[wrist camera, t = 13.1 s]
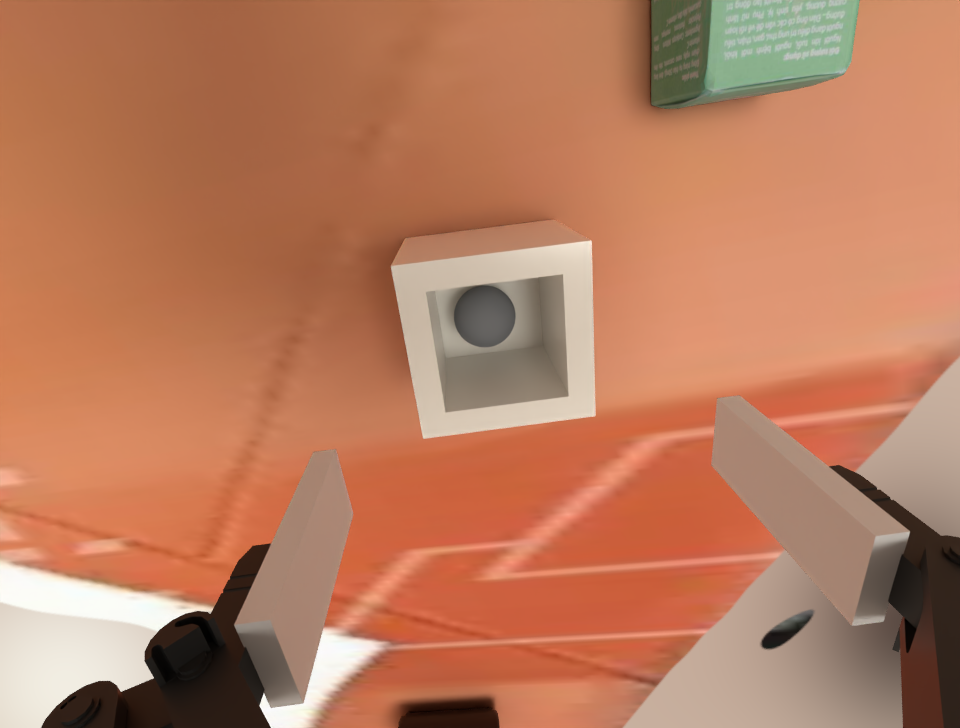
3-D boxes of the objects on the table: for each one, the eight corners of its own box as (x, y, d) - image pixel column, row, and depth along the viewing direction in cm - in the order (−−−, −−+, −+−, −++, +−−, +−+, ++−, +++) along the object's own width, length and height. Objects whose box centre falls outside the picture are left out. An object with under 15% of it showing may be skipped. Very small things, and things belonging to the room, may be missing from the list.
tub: (405, 238, 32) (390, 266, 24) (554, 219, 32) (591, 240, 24) (428, 374, 36) (423, 438, 28) (561, 356, 36) (595, 416, 28)
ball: (456, 279, 33) (443, 300, 29) (515, 275, 32) (509, 296, 28) (464, 333, 34) (452, 359, 31) (520, 330, 34) (514, 357, 30)
